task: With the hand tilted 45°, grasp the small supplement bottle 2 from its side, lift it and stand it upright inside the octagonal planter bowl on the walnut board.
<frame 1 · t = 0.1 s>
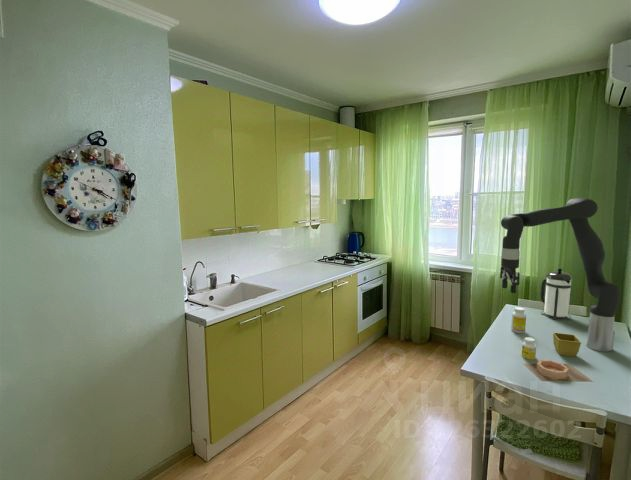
hand: (508, 290, 167), 29 cm above the table, tool pointing down, fingers open, 8 cm apart
coffee press: (553, 316, 212), on the table
supplement bottle 2: (528, 359, 160), on the table
octagonal planter bowl: (552, 372, 146), resting on walnut board
supplement bottle: (518, 331, 191), on the table
walnut board: (555, 374, 146), on the table
flower pot: (565, 355, 163), on the table
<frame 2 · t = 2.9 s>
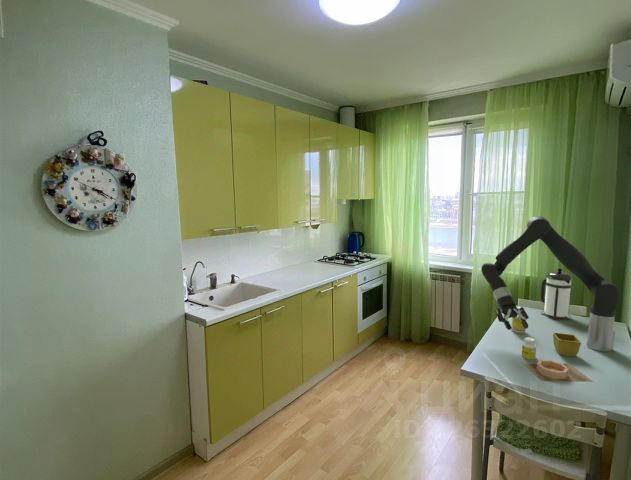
hand: (518, 328, 166), 11 cm above the table, tool tilted 45°, fingers open, 8 cm apart
nothing on the table moved.
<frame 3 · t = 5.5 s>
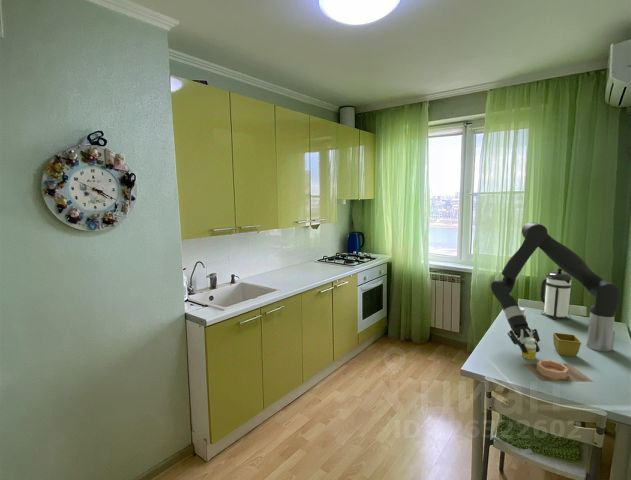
hand: (531, 352, 158), 4 cm above the table, tool tilted 45°, fingers closed on supplement bottle 2, 5 cm apart
supplement bottle 2: (528, 359, 160), on the table, touching gripper
everything else where it was.
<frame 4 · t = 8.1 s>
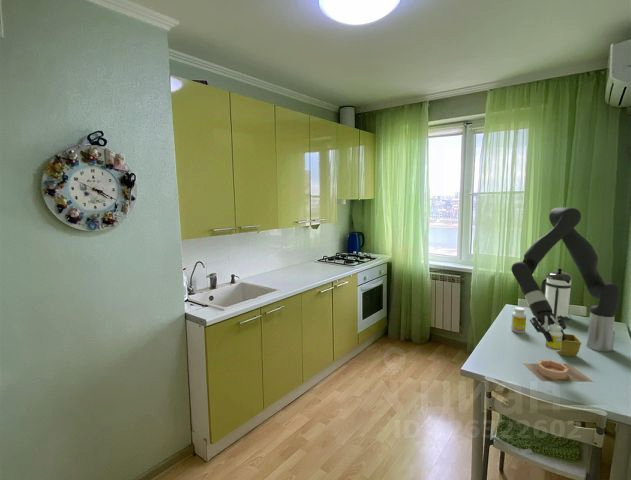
hand: (557, 340, 142), 16 cm above the table, tool tilted 45°, fingers closed on supplement bottle 2, 5 cm apart
supplement bottle 2: (553, 348, 145), point 12 cm above the table, touching gripper
everything else where it was.
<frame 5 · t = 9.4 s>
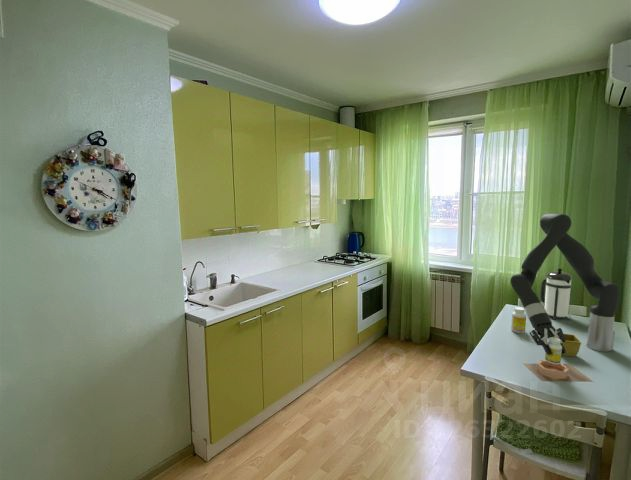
hand: (557, 353, 143), 10 cm above the table, tool tilted 45°, fingers closed on supplement bottle 2, 5 cm apart
supplement bottle 2: (552, 361, 145), point 6 cm above the table, touching gripper
everything else where it was.
when the fingers open (7 cm above the table, at t = 10.6 s): supplement bottle 2 drops 1 cm, resting on octagonal planter bowl.
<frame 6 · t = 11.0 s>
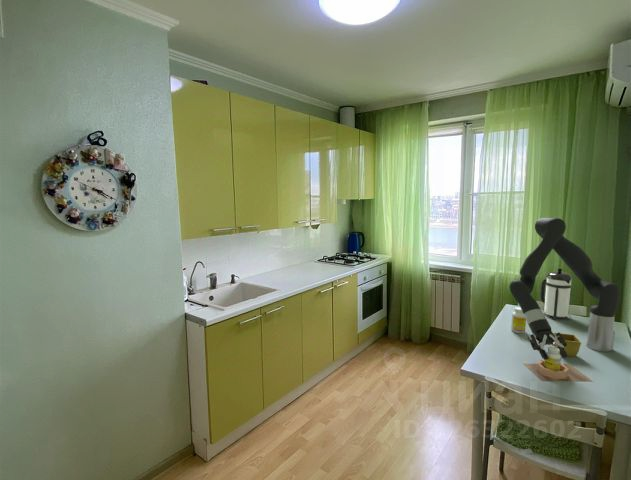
hand: (556, 358, 143), 8 cm above the table, tool tilted 45°, fingers open, 8 cm apart
supplement bottle 2: (551, 371, 146), point 2 cm above the table, touching octagonal planter bowl
everything else where it was.
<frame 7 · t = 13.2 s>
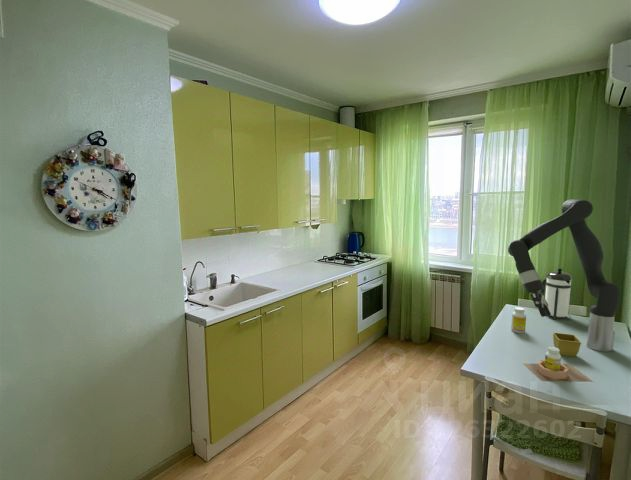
hand: (546, 316, 155), 21 cm above the table, tool tilted 30°, fingers open, 8 cm apart
nothing on the table moved.
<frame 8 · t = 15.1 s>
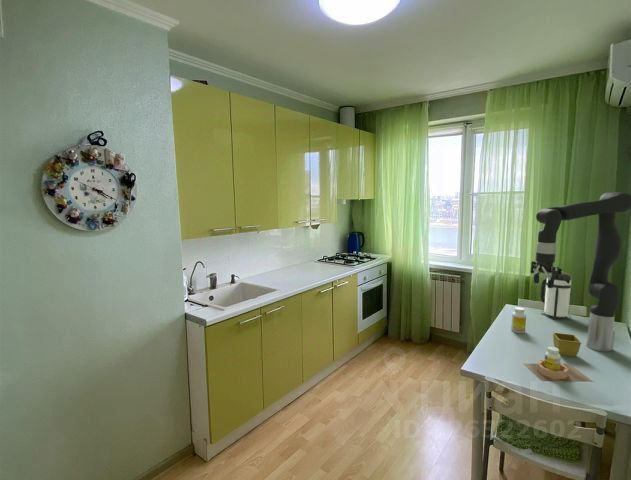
hand: (543, 285, 165), 32 cm above the table, tool pointing down, fingers open, 8 cm apart
nothing on the table moved.
at the end: supplement bottle 2 0.2 cm off-centre on the octagonal planter bowl, point 0.6 cm above the octagonal planter bowl's base; supplement bottle 2 tilted 1°; the gripper is holding nothing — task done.
